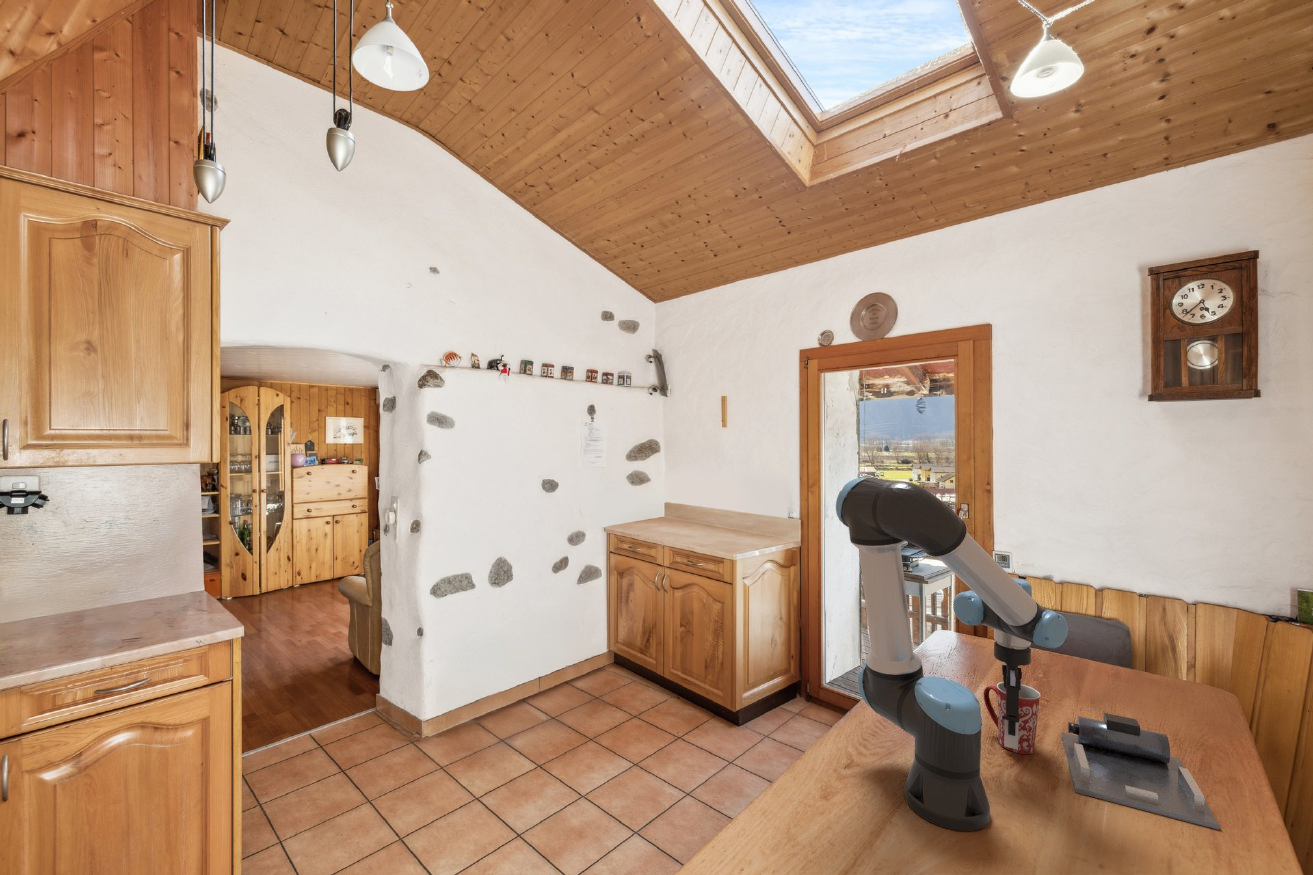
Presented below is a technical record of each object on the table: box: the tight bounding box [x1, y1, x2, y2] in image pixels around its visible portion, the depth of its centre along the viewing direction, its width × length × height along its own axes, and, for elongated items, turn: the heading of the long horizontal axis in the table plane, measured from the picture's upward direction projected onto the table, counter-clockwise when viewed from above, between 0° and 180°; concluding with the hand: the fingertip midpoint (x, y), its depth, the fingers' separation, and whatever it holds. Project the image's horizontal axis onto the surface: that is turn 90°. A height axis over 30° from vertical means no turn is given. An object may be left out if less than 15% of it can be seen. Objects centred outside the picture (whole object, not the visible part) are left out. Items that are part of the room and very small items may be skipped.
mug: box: [983, 681, 1042, 755], centre depth 138 cm, size 13×9×14 cm
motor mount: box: [1060, 712, 1220, 831], centre depth 125 cm, size 26×22×8 cm
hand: (1010, 738), depth 138 cm, fingers closed on mug, 8 cm apart
